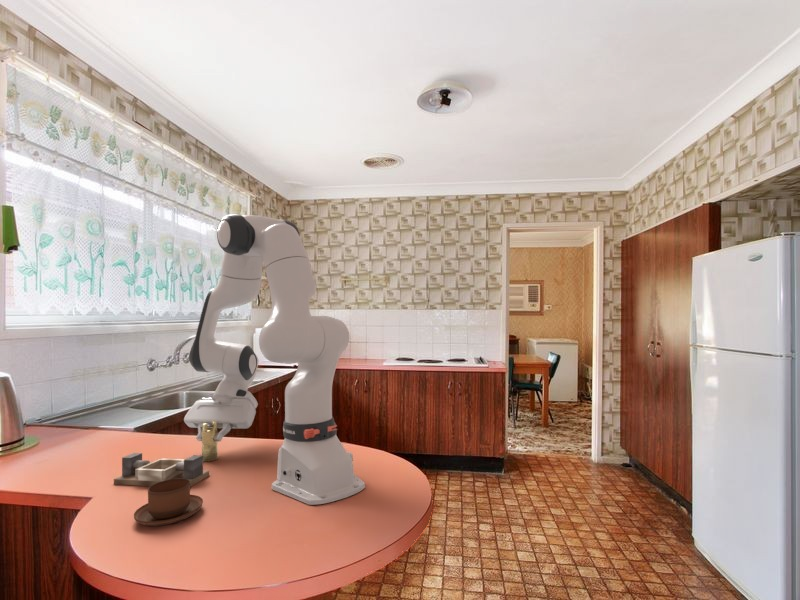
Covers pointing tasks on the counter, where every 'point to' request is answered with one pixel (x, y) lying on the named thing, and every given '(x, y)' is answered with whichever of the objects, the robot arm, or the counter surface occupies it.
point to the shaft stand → (160, 470)
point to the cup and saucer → (168, 503)
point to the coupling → (209, 442)
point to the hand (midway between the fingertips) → (208, 440)
